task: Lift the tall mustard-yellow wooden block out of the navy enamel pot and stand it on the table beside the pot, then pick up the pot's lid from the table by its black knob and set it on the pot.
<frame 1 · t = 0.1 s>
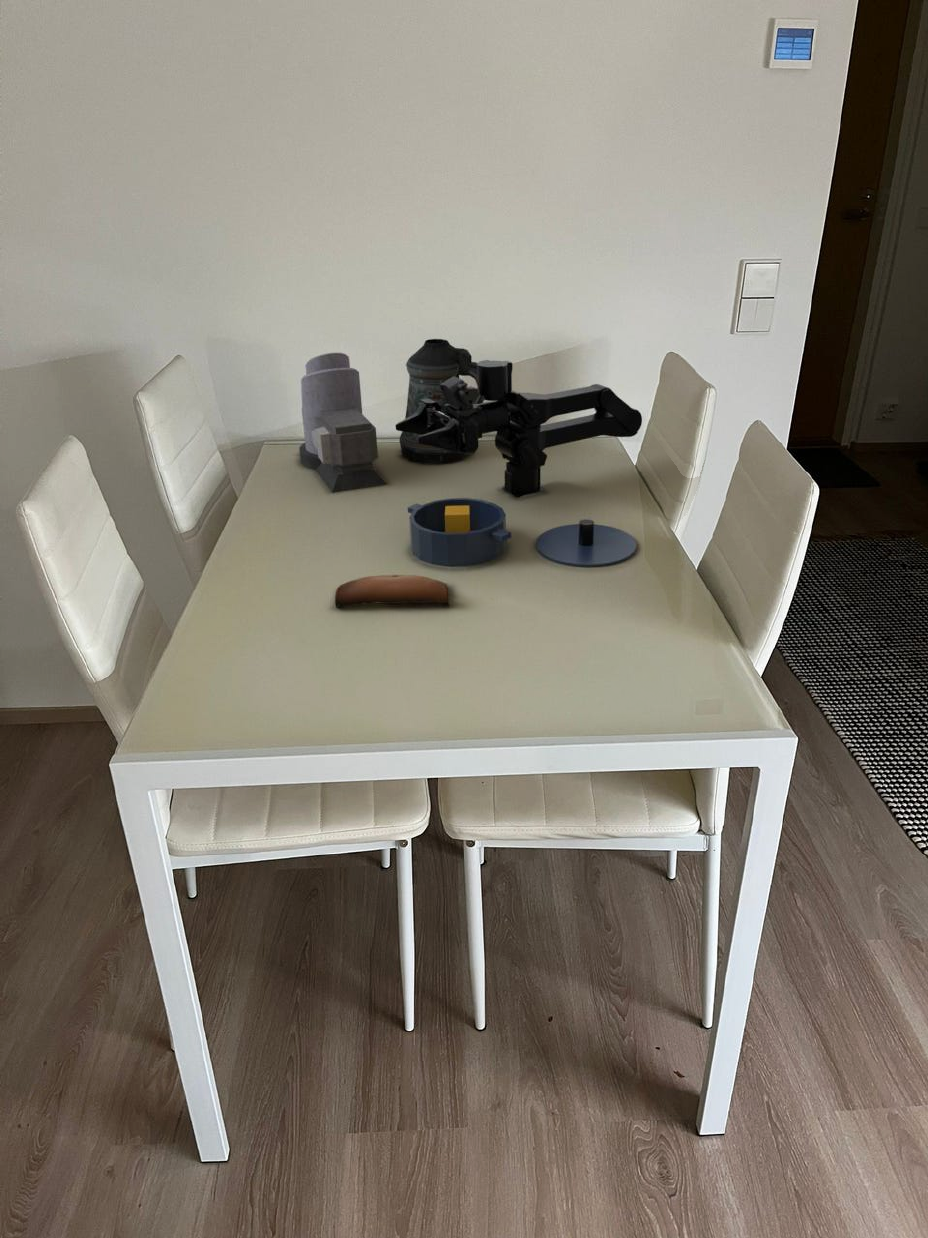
hand: (406, 433, 177), 17 cm above the table, tool horizontal, fingers open, 9 cm apart
juicer: (342, 467, 212), on the table
block: (458, 546, 171), resting on pot
pot: (458, 549, 171), on the table
lid: (585, 545, 169), point 1 cm above the table
sunglasses case: (394, 599, 155), on the table
beer stein: (442, 452, 218), on the table
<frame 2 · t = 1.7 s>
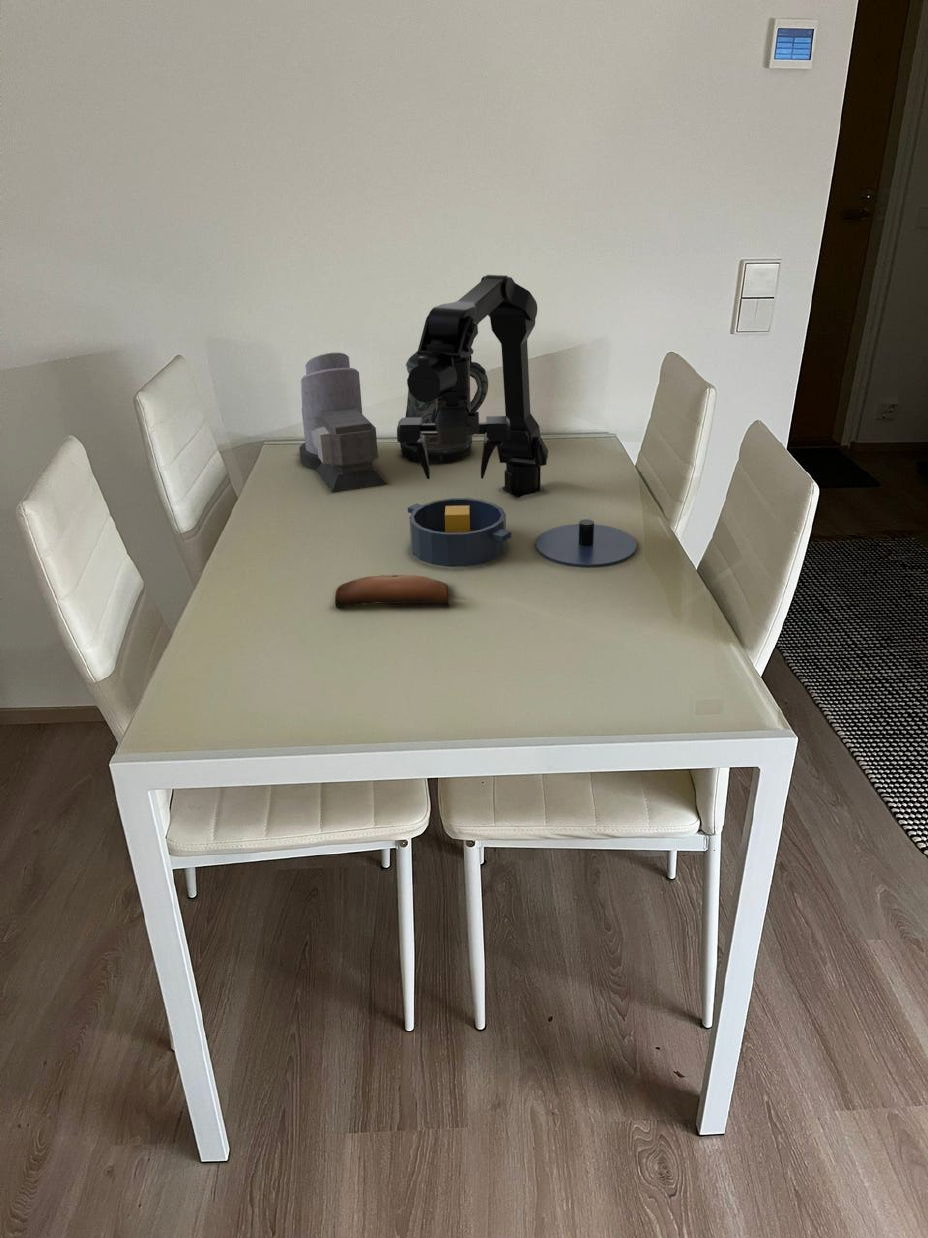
hand: (455, 478, 165), 13 cm above the table, tool pointing down, fingers open, 9 cm apart
nothing on the table moved.
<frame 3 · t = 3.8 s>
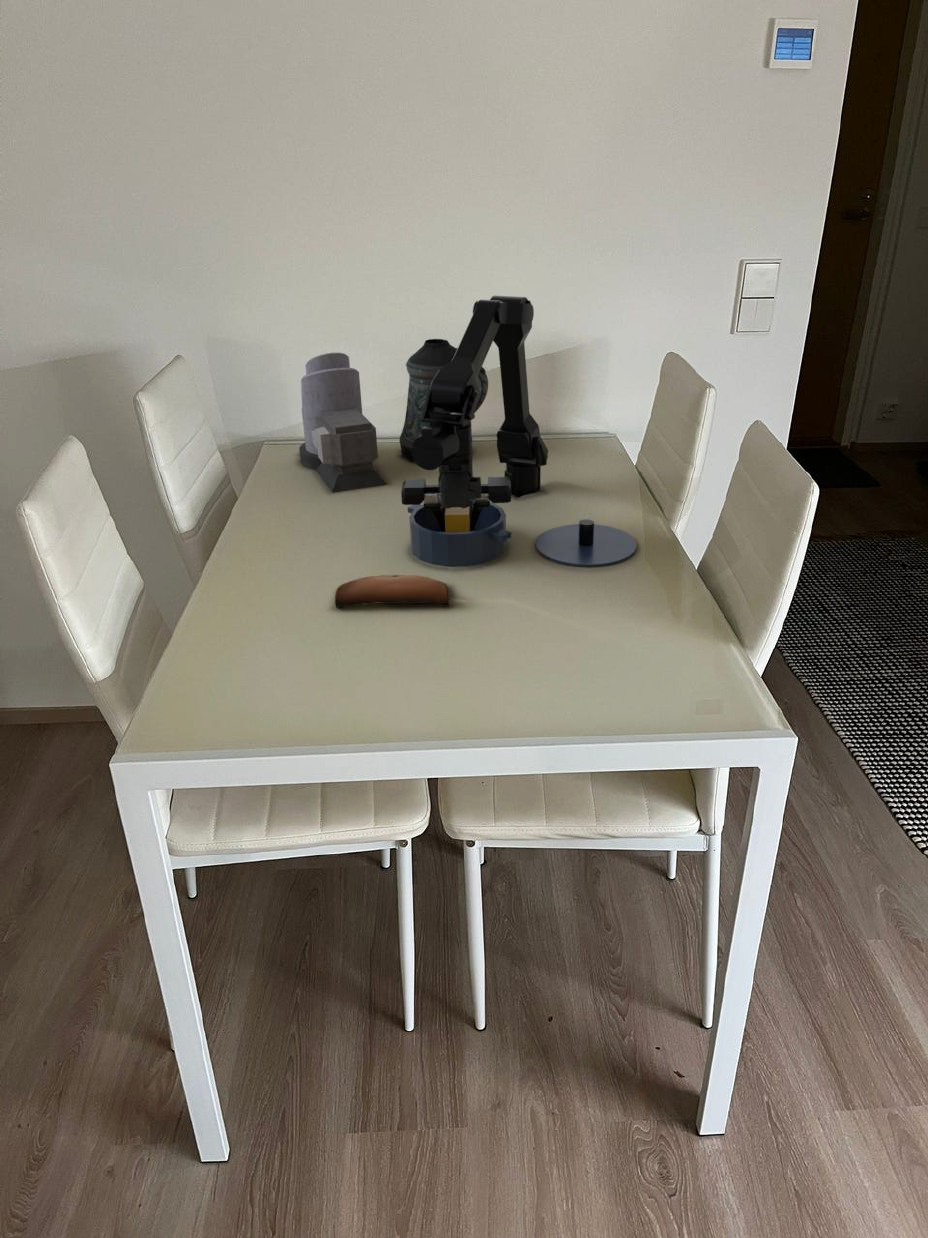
hand: (458, 536, 170), 3 cm above the table, tool pointing down, fingers closed on block, 4 cm apart
block: (458, 546, 171), point 1 cm above the table, touching gripper, pot
everything else where it was.
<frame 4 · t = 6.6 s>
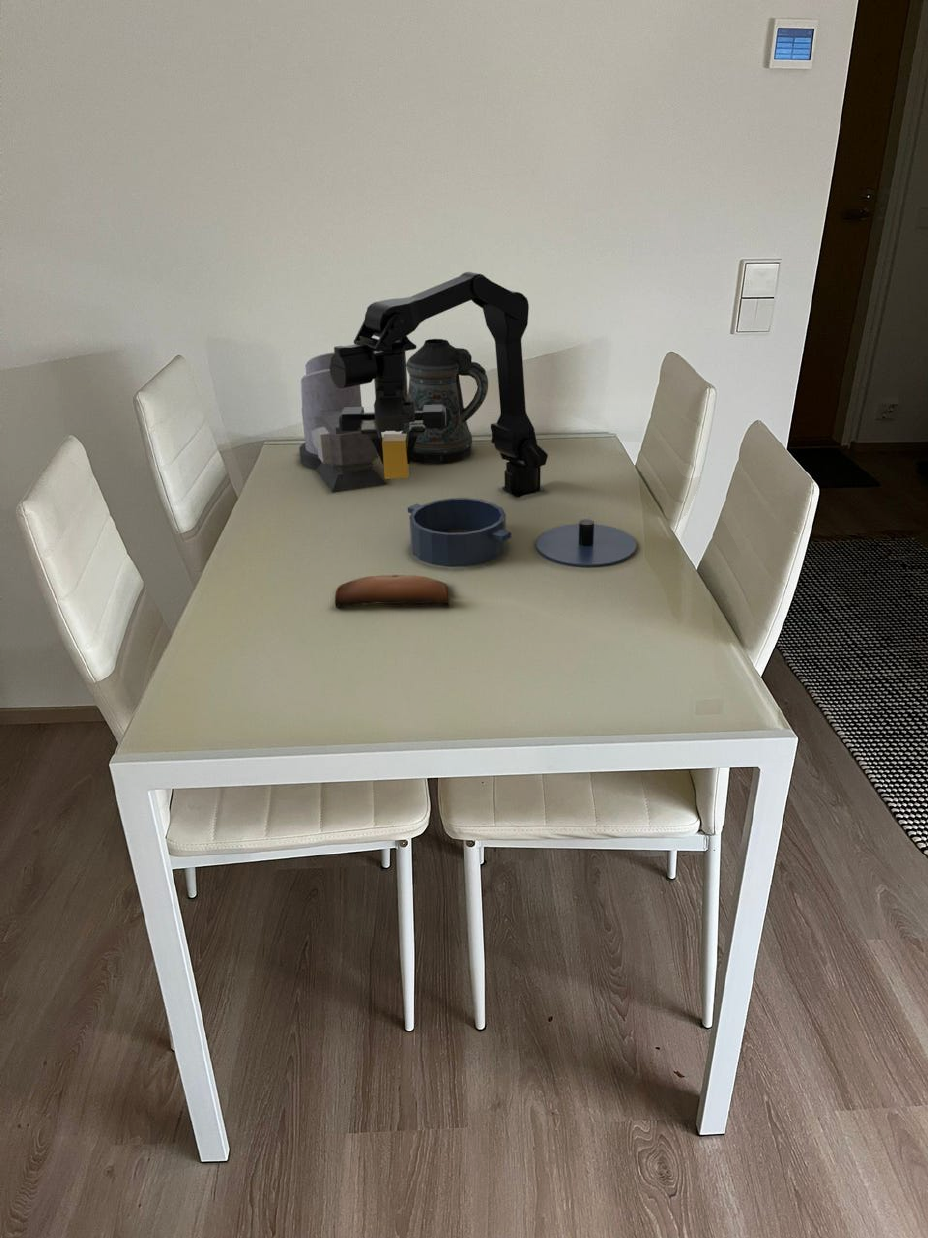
hand: (396, 463, 175), 12 cm above the table, tool pointing down, fingers closed on block, 4 cm apart
block: (397, 474, 176), point 10 cm above the table, touching gripper
everything else where it was.
when the fingers open (2 cm above the table, at t = 9.6 s): block stays where it is, on the table.
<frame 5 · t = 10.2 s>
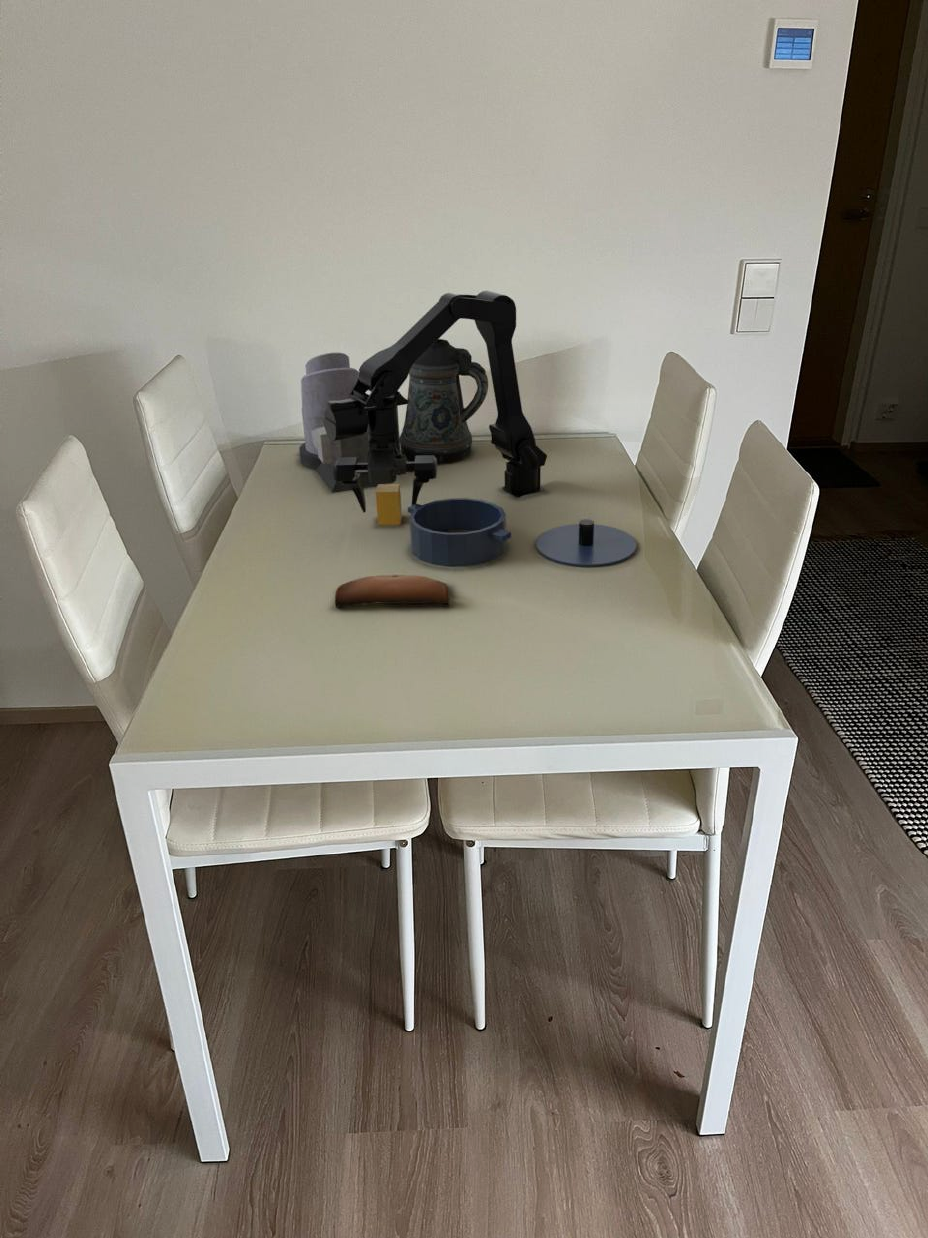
hand: (388, 511, 181), 2 cm above the table, tool pointing down, fingers open, 9 cm apart
block: (390, 522, 183), on the table
everything else where it was.
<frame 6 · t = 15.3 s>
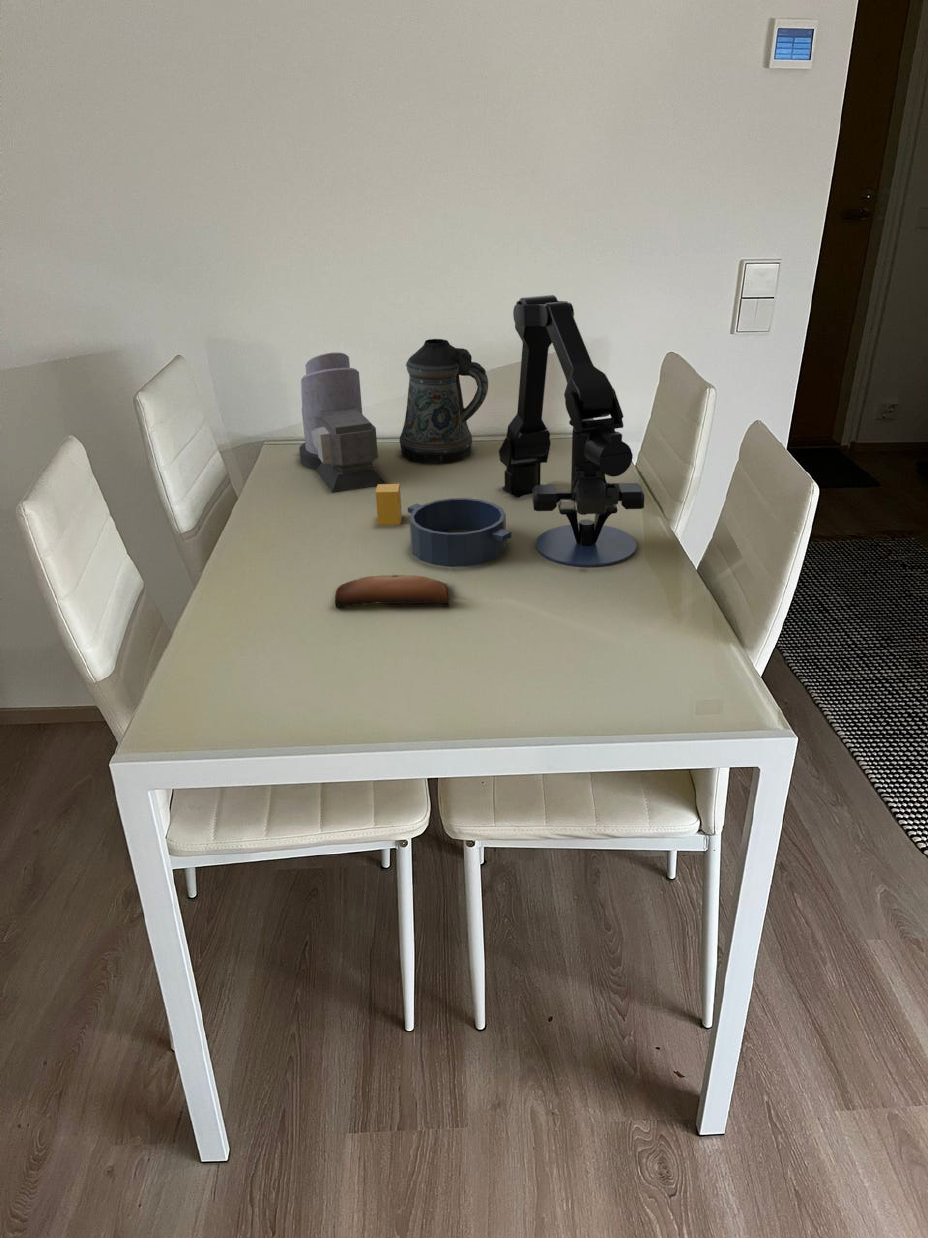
hand: (585, 542, 169), 1 cm above the table, tool pointing down, fingers closed on lid, 3 cm apart
lid: (585, 545, 169), point 1 cm above the table, touching gripper
everything else where it was.
when the fingers open (7 cm above the table, at t = 20.3 s): lid stays where it is, resting on pot.
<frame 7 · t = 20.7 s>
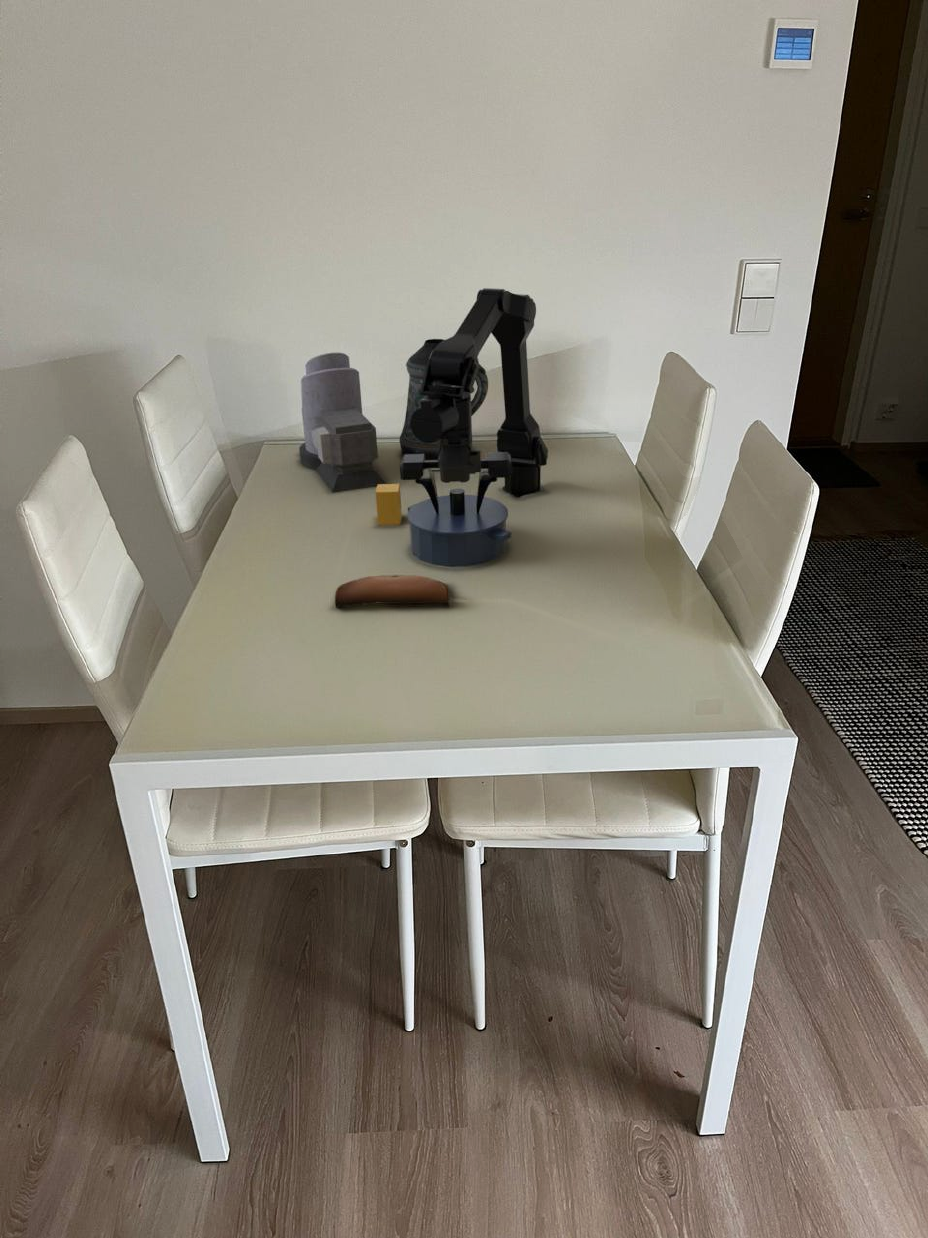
hand: (457, 512, 167), 7 cm above the table, tool pointing down, fingers open, 7 cm apart
lid: (457, 515, 168), point 6 cm above the table, touching pot
everything else where it was.
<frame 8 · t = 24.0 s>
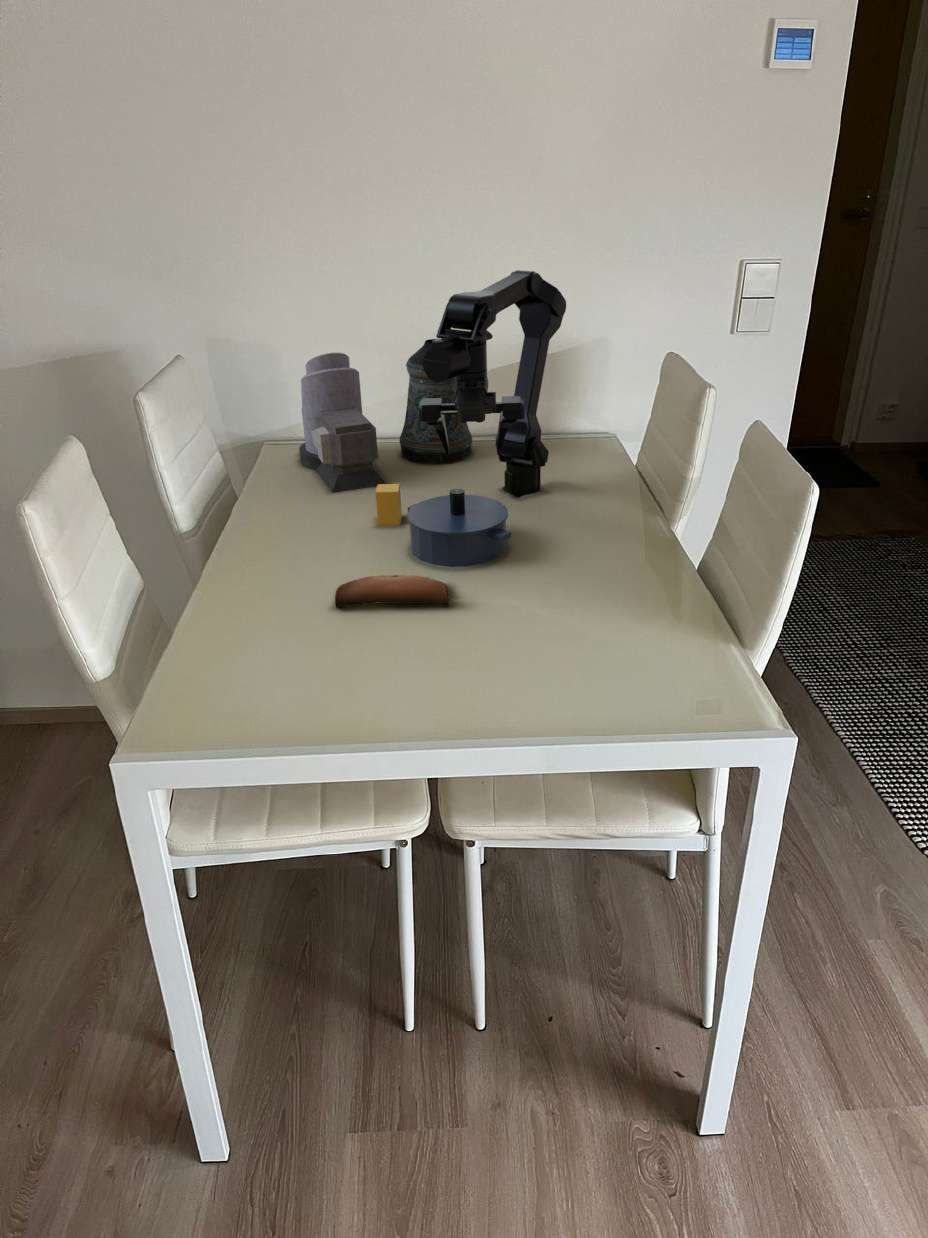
hand: (472, 454, 176), 13 cm above the table, tool pointing down, fingers open, 9 cm apart
nothing on the table moved.
at the end: block inside the target area (0.1 cm from its centre), on the table; lid 0.0 cm off-centre on the pot, point 6.5 cm above the pot's base; lid tilted 0° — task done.
